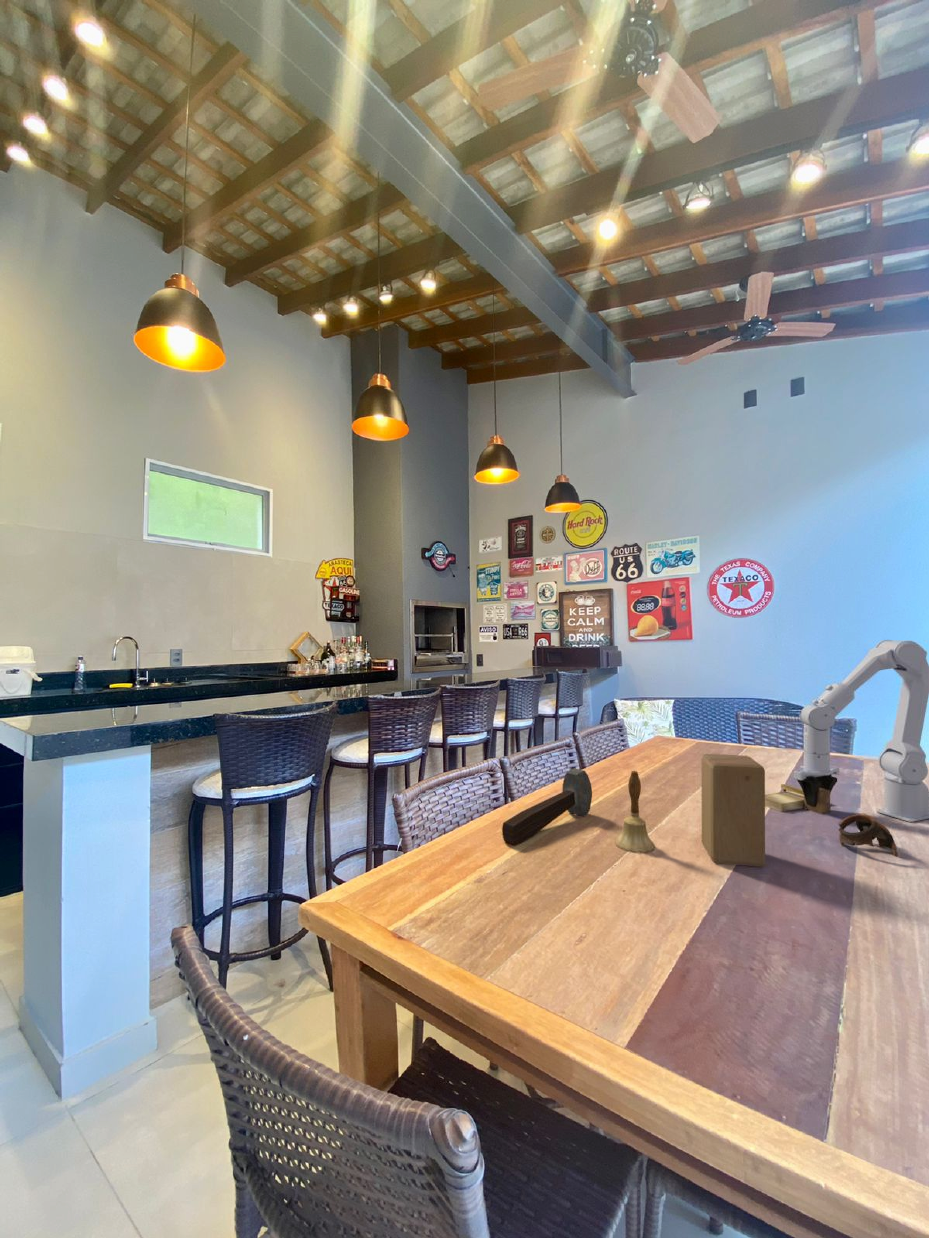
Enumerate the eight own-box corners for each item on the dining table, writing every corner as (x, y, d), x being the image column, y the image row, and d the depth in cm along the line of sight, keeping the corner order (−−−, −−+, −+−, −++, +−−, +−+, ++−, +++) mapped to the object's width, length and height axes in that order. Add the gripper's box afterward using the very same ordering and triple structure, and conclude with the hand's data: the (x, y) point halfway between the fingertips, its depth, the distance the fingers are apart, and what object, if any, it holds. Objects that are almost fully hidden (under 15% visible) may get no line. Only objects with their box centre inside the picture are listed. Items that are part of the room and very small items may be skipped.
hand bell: (660, 852, 112) (660, 776, 112) (621, 852, 112) (621, 776, 112) (647, 837, 121) (646, 766, 121) (610, 837, 121) (610, 766, 121)
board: (801, 795, 150) (801, 788, 150) (826, 803, 144) (826, 795, 144) (757, 803, 144) (757, 795, 144) (781, 811, 137) (781, 803, 137)
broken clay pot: (907, 866, 108) (885, 830, 108) (855, 875, 113) (834, 841, 113) (894, 831, 118) (874, 798, 118) (846, 841, 123) (827, 809, 123)
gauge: (786, 797, 148) (786, 778, 148) (830, 812, 137) (830, 790, 137) (777, 799, 147) (777, 779, 147) (820, 813, 136) (820, 792, 136)
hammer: (518, 864, 115) (593, 812, 136) (513, 813, 114) (590, 769, 135) (501, 857, 118) (577, 807, 139) (496, 808, 117) (574, 765, 138)
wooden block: (766, 869, 105) (766, 766, 105) (712, 864, 107) (712, 764, 107) (750, 848, 115) (750, 754, 115) (700, 844, 117) (700, 752, 117)
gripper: (820, 746, 145) (820, 796, 145) (782, 750, 140) (782, 803, 140) (847, 752, 139) (847, 804, 138) (808, 757, 133) (808, 811, 133)
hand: (816, 804), depth 139 cm, fingers closed on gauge, 3 cm apart
